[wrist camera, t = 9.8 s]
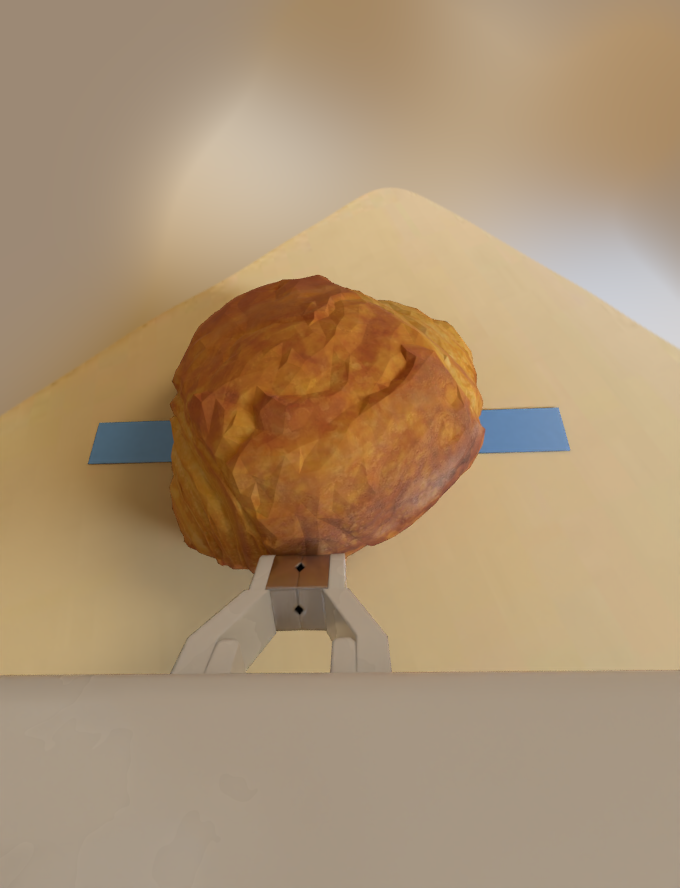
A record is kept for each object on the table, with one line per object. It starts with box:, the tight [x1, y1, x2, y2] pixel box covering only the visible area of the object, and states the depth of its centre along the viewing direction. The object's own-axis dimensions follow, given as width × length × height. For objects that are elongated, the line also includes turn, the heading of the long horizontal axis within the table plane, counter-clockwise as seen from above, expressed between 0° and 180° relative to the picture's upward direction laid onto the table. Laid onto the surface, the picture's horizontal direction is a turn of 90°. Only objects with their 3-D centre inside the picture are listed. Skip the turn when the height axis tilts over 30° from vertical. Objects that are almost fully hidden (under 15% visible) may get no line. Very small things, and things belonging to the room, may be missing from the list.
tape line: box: [88, 408, 570, 464], centre depth 19 cm, size 2×26×1 cm, turn 91°
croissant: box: [169, 275, 485, 573], centre depth 16 cm, size 14×16×8 cm
